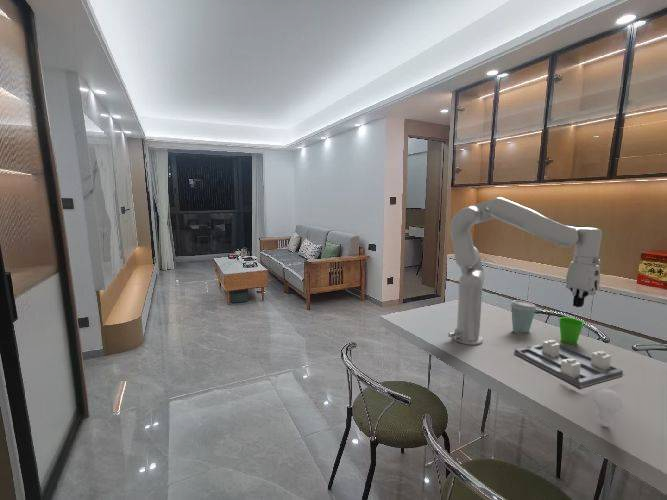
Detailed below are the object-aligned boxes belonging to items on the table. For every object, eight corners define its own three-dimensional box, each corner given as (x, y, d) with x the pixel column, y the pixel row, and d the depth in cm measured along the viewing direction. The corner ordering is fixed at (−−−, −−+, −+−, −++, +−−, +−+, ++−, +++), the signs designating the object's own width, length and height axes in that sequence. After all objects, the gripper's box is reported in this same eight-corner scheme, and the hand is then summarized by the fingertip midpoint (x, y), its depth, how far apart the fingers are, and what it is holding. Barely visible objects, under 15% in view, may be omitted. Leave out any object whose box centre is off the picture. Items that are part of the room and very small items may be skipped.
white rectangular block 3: (602, 370, 122) (604, 355, 121) (590, 364, 125) (592, 350, 124) (609, 368, 123) (611, 353, 122) (597, 363, 127) (599, 349, 126)
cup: (585, 350, 141) (588, 325, 139) (561, 348, 143) (564, 324, 141) (574, 341, 150) (577, 317, 148) (552, 339, 151) (554, 316, 150)
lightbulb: (585, 419, 98) (590, 385, 96) (604, 418, 98) (609, 384, 96) (603, 434, 92) (609, 397, 90) (624, 433, 92) (630, 396, 90)
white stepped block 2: (571, 378, 116) (573, 363, 115) (560, 372, 120) (561, 358, 119) (579, 376, 118) (581, 361, 117) (568, 370, 121) (569, 356, 120)
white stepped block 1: (551, 357, 131) (552, 343, 130) (542, 352, 135) (543, 339, 134) (558, 355, 133) (560, 342, 132) (549, 351, 136) (550, 338, 135)
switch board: (579, 389, 113) (580, 382, 112) (514, 355, 137) (514, 349, 136) (621, 377, 120) (622, 370, 120) (553, 346, 144) (553, 341, 144)
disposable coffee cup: (520, 327, 166) (522, 297, 163) (539, 335, 156) (542, 304, 153) (503, 329, 163) (505, 300, 160) (521, 338, 152) (524, 307, 150)
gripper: (613, 263, 121) (605, 312, 125) (572, 256, 135) (566, 299, 139) (599, 264, 119) (591, 314, 122) (559, 256, 133) (552, 301, 136)
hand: (577, 306), depth 130 cm, fingers closed
